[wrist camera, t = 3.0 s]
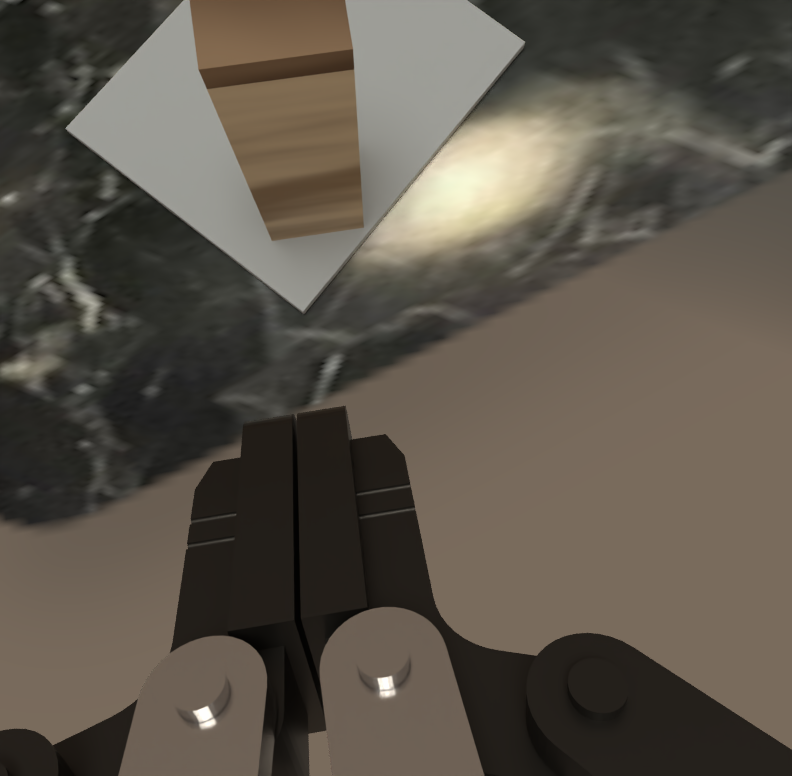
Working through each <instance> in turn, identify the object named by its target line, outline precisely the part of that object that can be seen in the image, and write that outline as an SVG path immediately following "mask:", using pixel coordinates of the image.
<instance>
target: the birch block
mask: <svg viewBox="0 0 792 776" xmlns="http://www.w3.org/2000/svg"><path fill="white" fill-rule="evenodd" d="M189 1H190V9H191V16H192V24H193V32H194V39H195V47H196V55H197V63H198V70H199V72H200V74H201V77H202V79H203V81H204V84H205V86H206V88H207V91H208V93H209V95H210V98H211V100H212V102H213V105H214V107H215V109H216V112H217V114H218V116H219V119H220V121H221V123H222V126H223V128H224V130H225V133H226V135H227V137H228V140H229V142H230V144H231V147H232V149H233V151H234V154H235V156H236V158H237V161H238V163H239V165H240V168H241V170H242V172H243V175H244V177H245V179H246V182H247V184H248V186H249V189H250V191H251V193H252V196H253V198H254V200H255V203H256V205H257V207H258V210H259V212H260V214H261V217H262V219H263V221H264V224H265V226H266V228H267V231H268V233H269V235H270V238H271V240H272V241H275V240H282V239H289V238H296V237H303V236H310V235H317V234H323V233H330V232H337V231H344V230H351V229H358V228H364V222H363V205H362V188H361V172H360V155H359V139H358V122H357V105H356V89H355V72H354V56H353V45H352V39H351V33H350V27H349V21H348V15H347V9H346V3H345V0H189Z"/></svg>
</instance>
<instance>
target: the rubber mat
mask: <svg viewBox="0 0 792 776" xmlns="http://www.w3.org/2000/svg"><path fill="white" fill-rule="evenodd" d="M345 3H346V9H347V15H348V21H349V27H350V33H351V39H352V45H353V56H354V72H355V89H356V105H357V122H358V139H359V155H360V172H361V188H362V205H363V222H364V228H358V229H351V230H344V231H337V232H330V233H323V234H317V235H310V236H303V237H296V238H289V239H282V240H275V241H272V240H271V238H270V235H269V233H268V231H267V228H266V226H265V224H264V221H263V219H262V217H261V214H260V212H259V210H258V207H257V205H256V203H255V200H254V198H253V196H252V193H251V191H250V189H249V186H248V184H247V182H246V179H245V177H244V175H243V172H242V170H241V168H240V165H239V163H238V161H237V158H236V156H235V154H234V151H233V149H232V147H231V144H230V142H229V140H228V137H227V135H226V133H225V130H224V128H223V126H222V123H221V121H220V119H219V116H218V114H217V112H216V109H215V107H214V105H213V102H212V100H211V98H210V95H209V93H208V91H207V88H206V86H205V84H204V81H203V79H202V77H201V74H200V72H199V70H198V63H197V55H196V47H195V39H194V32H193V24H192V16H191V9H190V1H189V0H184V1H183V2H182V3H181V4H180V5H179V6H178V7H177V8H176V9H175V10H174V11H173V13H172V14H171V15H170V16H169V17H168V18H167V19H166V20H165V21H164V22H163V23H162V24H161V26H160V27H159V28H158V29H157V30H156V31H155V32H154V33H153V34H152V35H151V36H150V37H149V39H148V40H147V41H146V42H145V43H144V44H143V45H142V46H141V47H140V48H139V49H138V51H137V52H136V53H135V54H134V55H133V56H132V57H131V58H130V59H129V60H128V61H127V62H126V64H125V65H124V66H123V67H122V68H121V69H120V70H119V71H118V72H117V73H116V74H115V75H114V77H113V78H112V79H111V80H110V81H109V82H108V83H107V84H106V85H105V86H104V87H103V88H102V90H101V91H100V92H99V93H98V94H97V95H96V96H95V97H94V98H93V99H92V100H91V101H90V103H89V104H88V105H87V106H86V107H85V108H84V109H83V110H82V111H81V112H80V113H79V114H78V116H77V117H76V118H75V119H74V120H73V121H72V122H71V123H70V124H69V125H68V126H67V127H66V130H67V131H68V132H69V133H70V134H71V135H72V136H74V137H75V138H76V139H78V140H79V141H80V142H81V143H83V144H84V145H85V146H87V147H88V148H89V149H90V150H92V151H93V152H94V153H96V154H97V155H98V156H100V157H101V158H102V159H103V160H105V161H106V162H107V163H109V164H110V165H111V166H112V167H114V168H115V169H116V170H118V171H119V172H120V173H122V174H123V175H124V176H125V177H127V178H128V179H129V180H131V181H132V182H133V183H134V184H136V185H137V186H138V187H140V188H141V189H142V190H144V191H145V192H146V193H147V194H149V195H150V196H151V197H153V198H154V199H155V200H156V201H158V202H159V203H160V204H162V205H163V206H164V207H166V208H167V209H168V210H169V211H171V212H172V213H173V214H175V215H176V216H177V217H178V218H180V219H181V220H182V221H184V222H185V223H186V224H188V225H189V226H190V227H191V228H193V229H194V230H195V231H197V232H198V233H199V234H200V235H202V236H203V237H204V238H206V239H207V240H208V241H210V242H211V243H212V244H213V245H215V246H216V247H217V248H219V249H220V250H221V251H222V252H224V253H225V254H226V255H228V256H229V257H230V258H232V259H233V260H234V261H235V262H237V263H238V264H239V265H241V266H242V267H243V268H244V269H246V270H247V271H248V272H250V273H251V274H252V275H254V276H255V277H256V278H257V279H259V280H260V281H261V282H263V283H264V284H265V285H266V286H268V287H269V288H270V289H272V290H273V291H274V292H276V293H277V294H278V295H279V296H281V297H282V298H283V299H285V300H286V301H287V302H288V303H290V304H291V305H292V306H294V307H295V308H296V309H297V310H299V311H300V312H301V313H303V314H305V313H306V311H307V310H308V309H309V308H310V306H311V305H312V304H313V303H314V302H315V300H316V299H317V298H318V297H319V296H320V294H321V293H322V292H323V291H324V289H325V288H326V287H327V286H328V285H329V283H330V282H331V281H332V280H333V279H334V277H335V276H336V275H337V274H338V272H339V271H340V270H341V269H342V268H343V266H344V265H345V264H346V263H347V262H348V260H349V259H350V258H351V257H352V255H353V254H354V253H355V252H356V251H357V249H358V248H359V247H360V246H361V245H362V243H363V242H364V241H365V240H366V239H367V237H368V236H369V235H370V234H371V232H372V231H373V230H374V229H375V228H376V226H377V225H378V224H379V223H380V222H381V220H382V219H383V218H384V217H385V215H386V214H387V213H388V212H389V211H390V209H391V208H392V207H393V206H394V205H395V203H396V202H397V201H398V200H399V198H400V197H401V196H402V195H403V194H404V192H405V191H406V190H407V189H408V188H409V186H410V185H411V184H412V183H413V181H414V180H415V179H416V178H417V177H418V175H419V174H420V173H421V172H422V171H423V169H424V168H425V167H426V166H427V164H428V163H429V162H430V161H431V160H432V158H433V157H434V156H435V155H436V154H437V152H438V151H439V150H440V149H441V148H442V146H443V145H444V144H445V143H446V141H447V140H448V139H449V138H450V137H451V135H452V134H453V133H454V132H455V131H456V129H457V128H458V127H459V126H460V124H461V123H462V122H463V121H464V120H465V118H466V117H467V116H468V115H469V114H470V112H471V111H472V110H473V109H474V107H475V106H476V105H477V104H478V103H479V101H480V100H481V99H482V98H483V97H484V95H485V94H486V93H487V92H488V90H489V89H490V88H491V87H492V86H493V84H494V83H495V82H496V81H497V80H498V78H499V77H500V76H501V75H502V73H503V72H504V71H505V70H506V69H507V67H508V66H509V65H510V64H511V63H512V61H513V60H514V59H515V58H516V57H517V55H518V54H519V53H520V52H521V50H522V49H523V48H524V44H525V42H524V41H523V40H521V39H520V38H519V37H517V36H516V35H515V34H513V33H512V32H510V31H509V30H508V29H506V28H505V27H503V26H502V25H501V24H499V23H498V22H496V21H495V20H494V19H492V18H491V17H489V16H488V15H487V14H485V13H484V12H482V11H481V10H480V9H478V8H477V7H475V6H474V5H473V4H471V3H470V2H468V1H467V0H345Z"/></svg>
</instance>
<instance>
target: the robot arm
mask: <svg viewBox="0 0 792 776" xmlns="http://www.w3.org/2000/svg"><path fill="white" fill-rule="evenodd" d="M191 523H192V524H191V525H190V527H189V535H188V542H187V544H188V549H187V550H186V555H185V561H184V568H183V575H182V583H181V589H180V596H179V602H178V609H177V616H176V623H175V630H174V636H173V643H172V647H171V651H170V654H169V655H168V656H166V657H165V658H164V659H163V660H162V661H161V662H160V663H159V664H158V665H157V666H156V667H155V668H154V669H153V671H152V672H151V674H150V675H149V676H148V678H147V679H146V681H145V683H144V685H143V687H142V689H141V692H140V695H139V698H138V699H137V700H136V701H135V702H134V703H132V704H131V705H130V706H128V707H127V708H125V709H124V710H123V711H121V712H119V713H117V714H116V715H114V716H112V717H110V718H108V719H106V720H104V721H102V722H100V723H98V724H96V725H94V726H92V727H90V728H88V729H86V730H84V731H82V732H80V733H78V734H76V735H73V736H71V737H69V738H67V739H65V740H63V741H61V742H59V743H57V744H55V745H52V744H51V743H50V742H49V741H48V740H47V739H46V738H45V737H44V736H42V735H41V734H39V733H37V732H35V731H31V730H27V729H9V730H3V731H0V776H309V746H308V745H309V744H308V734H309V733H315V732H320V731H325V730H327V738H328V745H329V754H330V762H331V770H332V776H792V750H791V749H790V748H788V747H786V746H785V745H783V744H782V743H780V742H779V741H777V740H776V739H774V738H773V737H771V736H770V735H768V734H766V733H765V732H763V731H762V730H760V729H759V728H757V727H755V726H754V725H753V724H751V723H749V722H748V721H746V720H745V719H743V718H742V717H740V716H739V715H737V714H735V713H734V712H732V711H731V710H729V709H728V708H726V707H725V706H723V705H722V704H720V703H718V702H717V701H715V700H714V699H712V698H711V697H709V696H708V695H706V694H705V693H703V692H702V691H700V690H698V689H697V688H695V687H694V686H692V685H691V684H689V683H688V682H686V681H685V680H683V679H681V678H680V677H678V676H677V675H675V674H674V673H672V672H671V671H669V670H667V669H666V668H664V667H663V666H661V665H660V664H658V663H656V662H655V661H654V660H652V659H650V658H649V657H647V656H646V655H644V654H643V653H641V652H640V651H638V650H636V649H635V648H633V647H632V646H630V645H628V644H626V643H625V642H623V641H620V640H618V639H615V638H613V637H609V636H605V635H601V634H593V633H581V634H573V635H568V636H565V637H562V638H560V639H557V640H555V641H553V642H552V643H550V644H549V645H548V646H546V647H545V648H544V649H543V650H542V651H541V652H540V653H539V654H538V655H537V656H534V655H527V654H519V653H512V652H506V651H498V650H494V649H489V648H485V647H482V646H479V645H476V644H474V643H472V642H470V641H468V640H466V639H464V638H463V637H461V636H460V635H459V634H457V633H456V632H454V631H453V630H452V629H451V628H450V627H449V626H448V625H447V624H446V622H445V621H444V619H443V618H442V617H441V615H440V613H439V611H438V609H437V608H436V605H435V601H434V598H433V593H432V588H431V584H430V579H429V574H428V569H427V564H426V560H425V554H424V549H423V544H422V539H421V534H420V529H419V525H418V520H417V516H416V511H415V505H414V500H413V495H412V490H411V486H410V480H409V476H408V471H407V466H406V461H405V456H404V454H403V453H402V452H401V451H400V450H399V449H398V448H397V447H396V445H395V444H394V443H393V442H392V441H391V440H390V439H389V438H388V436H387V435H386V434H384V435H378V436H371V437H365V438H359V439H353V440H352V436H351V431H350V425H349V420H348V415H347V410H346V406H342V407H335V408H329V409H322V410H316V411H309V412H303V413H298V414H297V421H296V418H295V415H294V414H292V415H285V416H279V417H273V418H266V419H260V420H254V421H247V422H245V423H244V425H243V433H242V446H241V458H235V459H229V460H222V461H216V462H213V463H212V465H211V466H210V468H209V469H208V471H207V472H206V474H205V475H204V477H203V479H202V480H201V482H200V483H199V484H198V486H197V487H196V489H195V493H194V500H193V507H192V514H191Z"/></svg>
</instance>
